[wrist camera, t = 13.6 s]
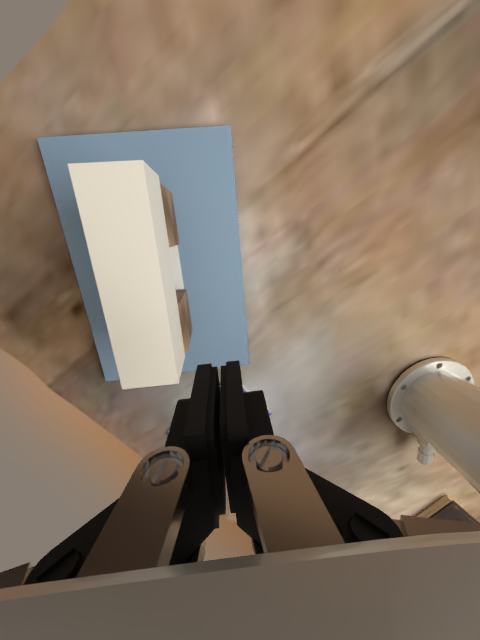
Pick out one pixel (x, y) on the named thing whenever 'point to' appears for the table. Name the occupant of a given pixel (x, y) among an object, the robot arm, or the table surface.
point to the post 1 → (169, 216)
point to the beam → (132, 268)
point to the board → (192, 224)
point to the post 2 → (184, 317)
